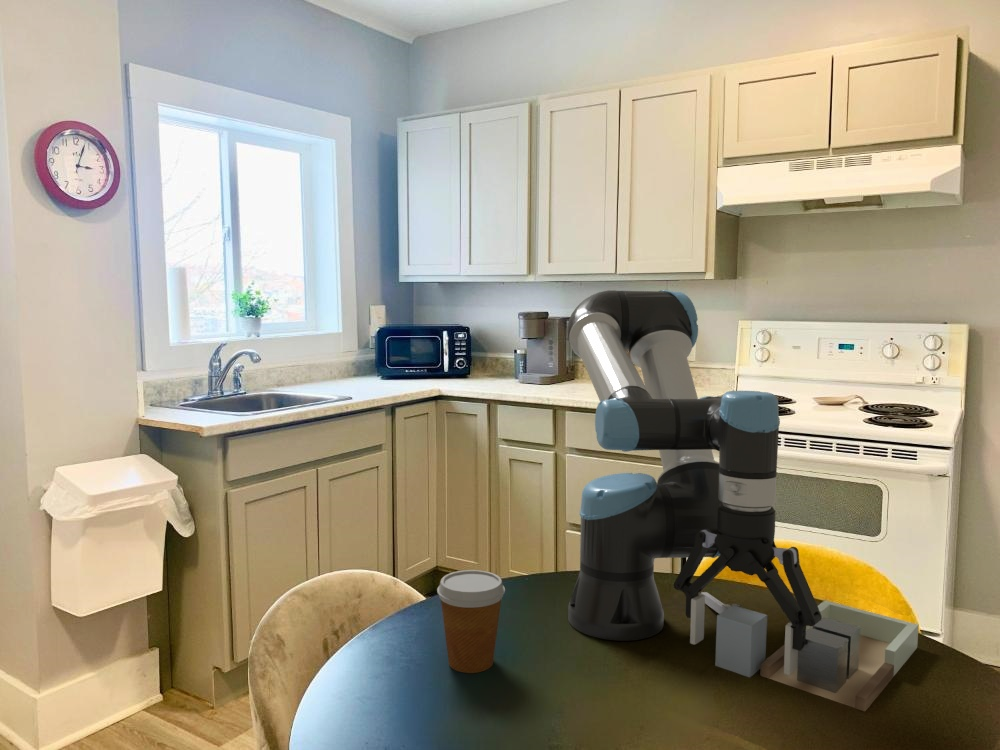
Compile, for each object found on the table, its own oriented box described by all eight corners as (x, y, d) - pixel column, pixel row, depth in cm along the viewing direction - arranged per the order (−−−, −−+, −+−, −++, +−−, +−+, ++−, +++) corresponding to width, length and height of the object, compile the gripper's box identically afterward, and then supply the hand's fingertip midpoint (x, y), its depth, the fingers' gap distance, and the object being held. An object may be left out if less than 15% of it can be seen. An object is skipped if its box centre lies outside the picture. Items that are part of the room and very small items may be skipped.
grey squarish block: (797, 680, 102) (798, 637, 101) (808, 669, 105) (810, 627, 104) (835, 693, 99) (837, 648, 98) (846, 682, 101) (848, 638, 101)
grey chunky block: (810, 667, 106) (812, 625, 105) (821, 657, 109) (823, 616, 108) (848, 679, 102) (850, 636, 102) (858, 669, 105) (860, 627, 105)
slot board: (760, 680, 103) (760, 663, 103) (823, 626, 121) (824, 611, 121) (864, 717, 94) (865, 698, 94) (916, 652, 112) (917, 637, 112)
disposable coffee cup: (423, 663, 108) (423, 580, 107) (471, 641, 115) (471, 564, 114) (470, 686, 101) (471, 599, 100) (518, 662, 108) (519, 580, 107)
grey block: (715, 671, 106) (717, 615, 105) (731, 659, 110) (733, 605, 109) (749, 683, 103) (751, 626, 102) (765, 670, 106) (767, 614, 106)
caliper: (743, 650, 113) (744, 609, 113) (735, 650, 113) (737, 609, 113) (704, 597, 134) (706, 562, 133) (698, 597, 134) (699, 562, 133)
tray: (794, 646, 112) (795, 623, 112) (823, 621, 121) (824, 600, 121) (893, 676, 103) (894, 651, 103) (917, 647, 112) (918, 624, 112)
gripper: (652, 494, 110) (649, 637, 111) (831, 527, 93) (824, 695, 95) (678, 486, 115) (674, 622, 117) (851, 516, 98) (844, 674, 100)
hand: (741, 655), depth 106 cm, fingers open, 13 cm apart
